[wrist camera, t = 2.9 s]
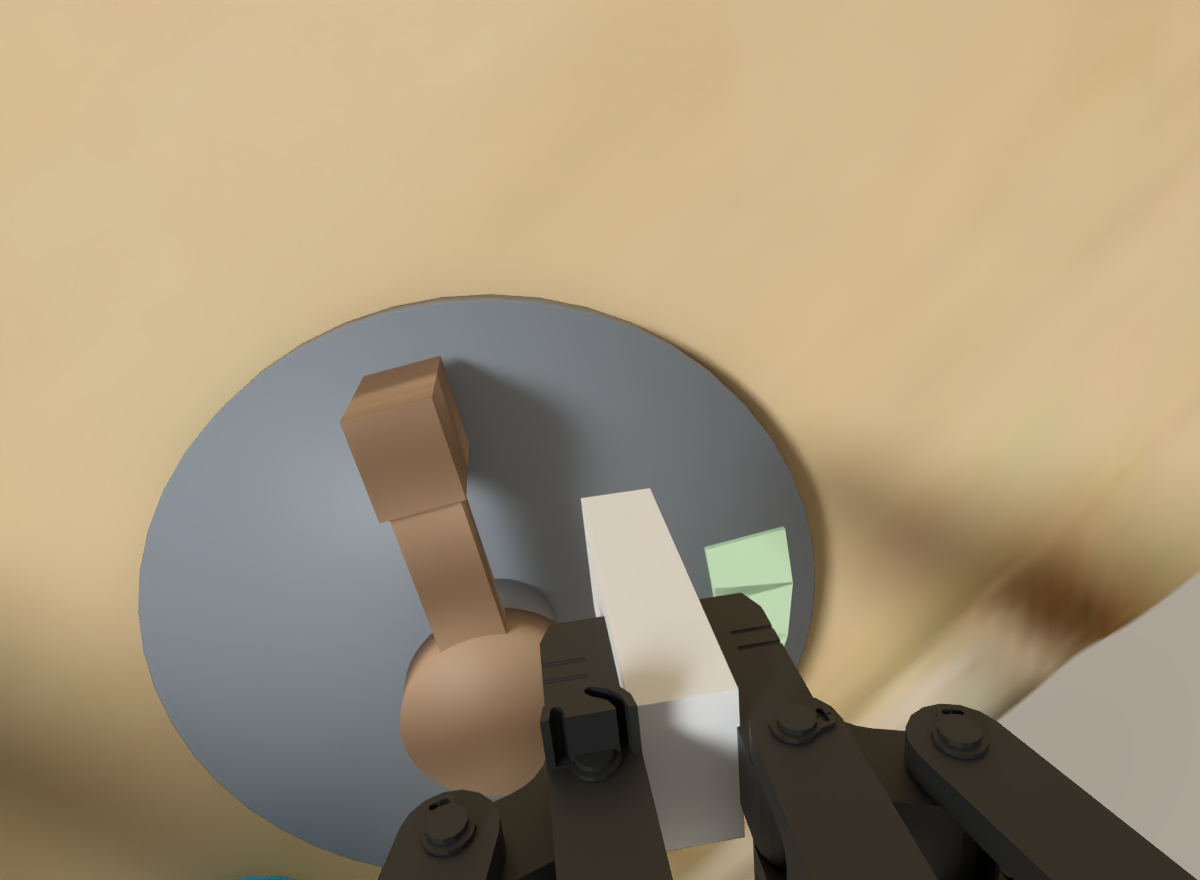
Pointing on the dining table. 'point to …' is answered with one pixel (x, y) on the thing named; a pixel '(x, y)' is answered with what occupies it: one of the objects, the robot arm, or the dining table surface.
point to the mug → (265, 878)
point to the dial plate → (374, 559)
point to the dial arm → (449, 589)
